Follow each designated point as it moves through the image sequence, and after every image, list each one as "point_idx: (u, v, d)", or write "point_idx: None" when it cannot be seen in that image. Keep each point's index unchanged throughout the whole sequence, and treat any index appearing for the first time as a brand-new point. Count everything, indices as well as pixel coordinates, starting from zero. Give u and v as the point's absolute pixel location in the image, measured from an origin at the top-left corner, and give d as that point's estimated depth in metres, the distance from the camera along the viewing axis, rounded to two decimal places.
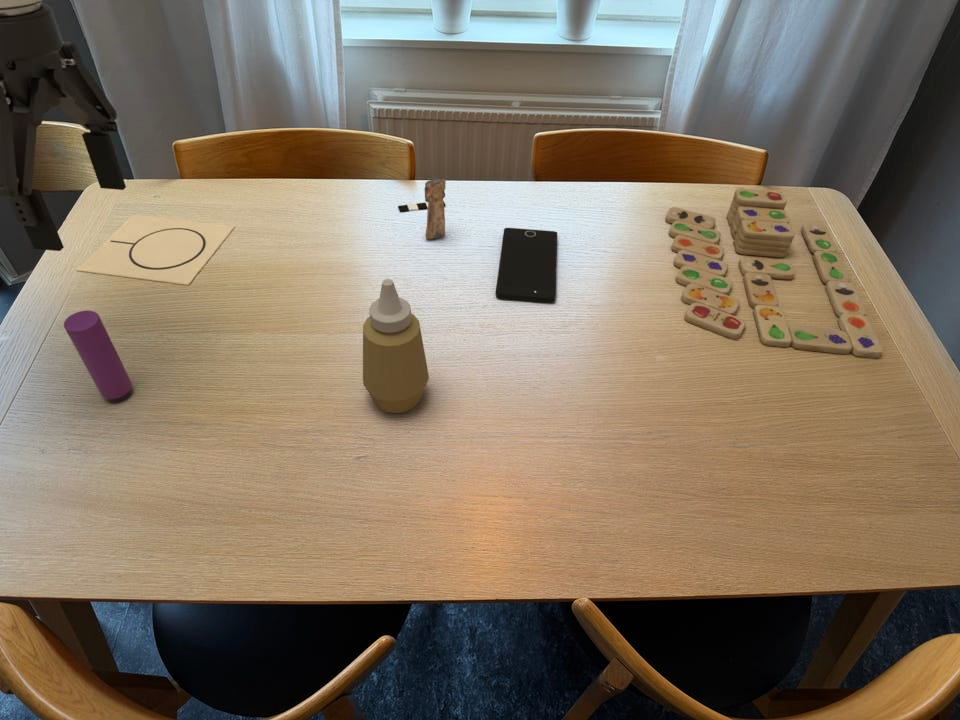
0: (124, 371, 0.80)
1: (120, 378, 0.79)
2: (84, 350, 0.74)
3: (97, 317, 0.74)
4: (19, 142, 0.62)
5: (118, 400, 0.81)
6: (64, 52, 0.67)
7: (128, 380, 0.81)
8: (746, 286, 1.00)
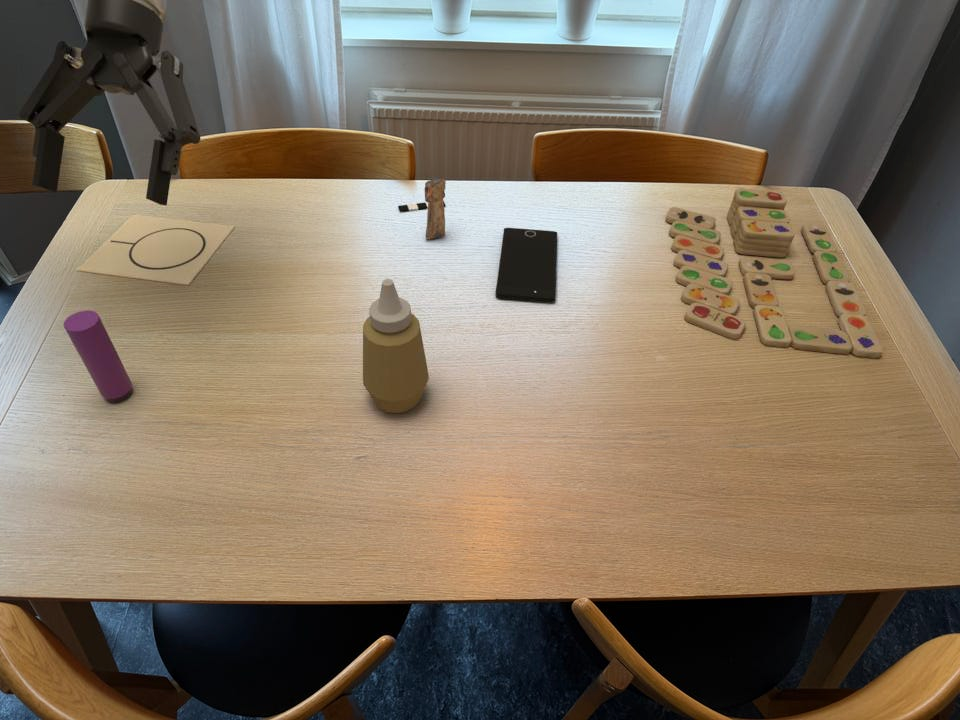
0: (124, 371, 0.80)
1: (120, 378, 0.79)
2: (84, 350, 0.74)
3: (97, 317, 0.74)
4: (161, 107, 0.74)
5: (118, 400, 0.81)
6: None
7: (128, 380, 0.81)
8: (746, 286, 1.00)
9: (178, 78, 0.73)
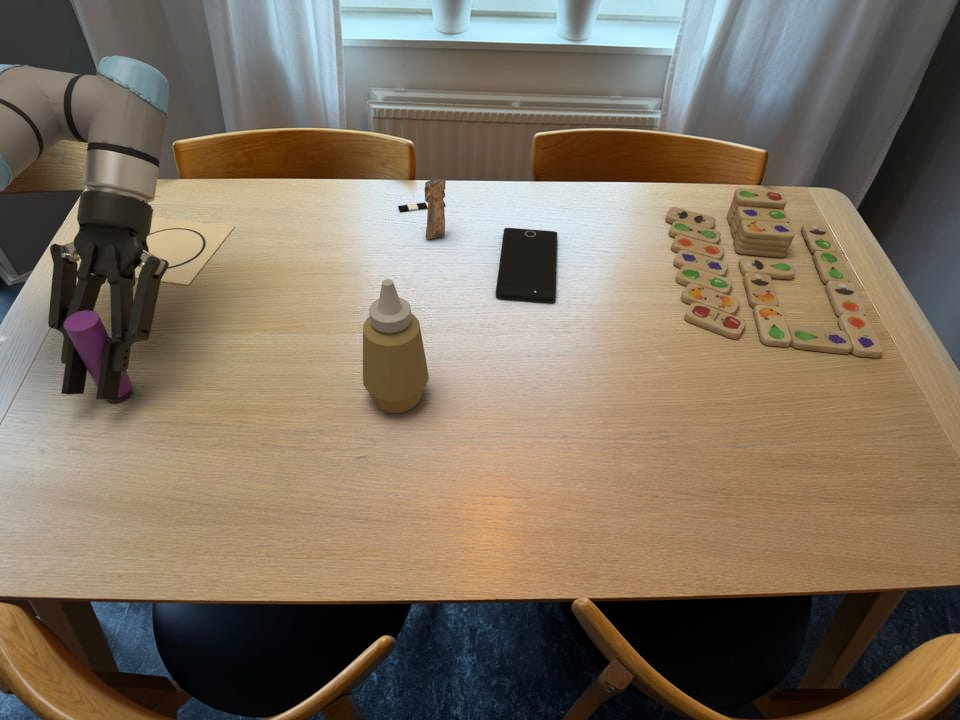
0: None
1: (120, 378, 0.79)
2: (84, 350, 0.74)
3: (97, 317, 0.74)
4: (129, 302, 0.77)
5: (118, 400, 0.81)
6: None
7: (128, 380, 0.81)
8: (746, 286, 1.00)
9: (156, 279, 0.76)
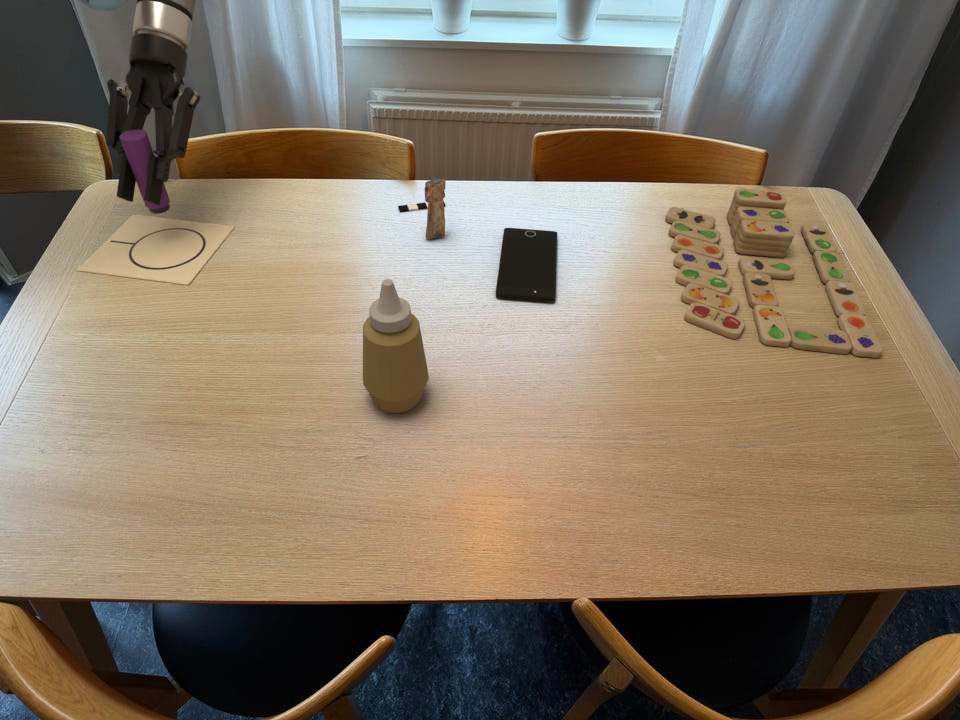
0: (164, 186, 1.00)
1: (162, 191, 0.99)
2: (135, 159, 0.94)
3: (145, 133, 0.94)
4: (169, 127, 0.97)
5: (159, 211, 1.01)
6: None
7: (167, 195, 1.01)
8: (746, 286, 1.00)
9: (190, 108, 0.97)
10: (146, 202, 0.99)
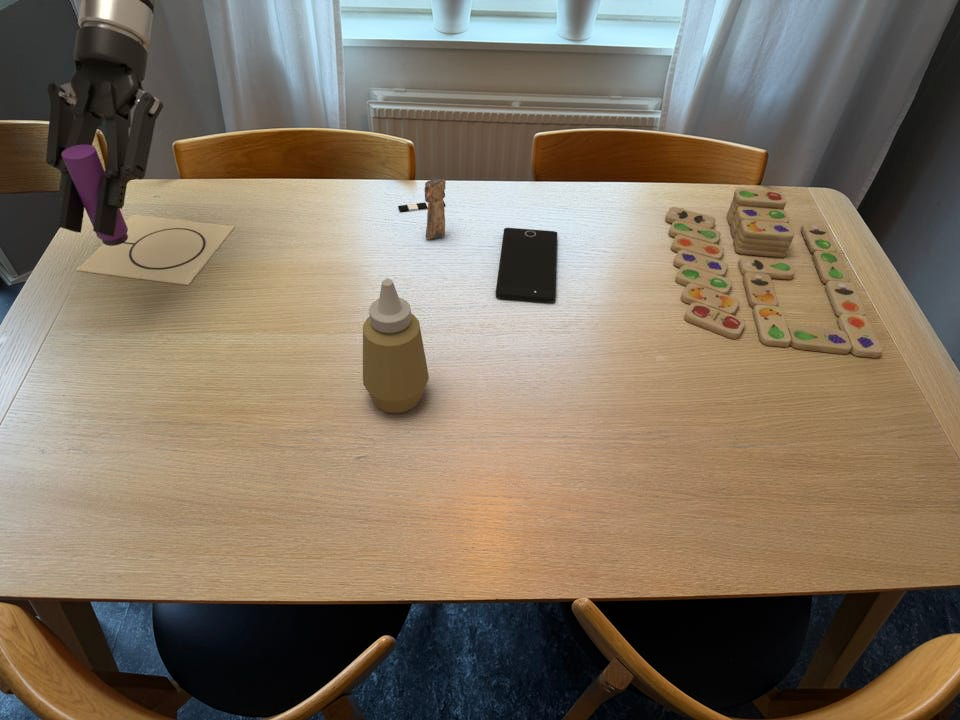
0: (120, 213, 0.82)
1: (117, 219, 0.81)
2: (81, 181, 0.77)
3: (94, 149, 0.76)
4: (125, 141, 0.79)
5: (114, 243, 0.83)
6: None
7: (124, 224, 0.83)
8: (746, 286, 1.00)
9: (150, 118, 0.79)
10: None
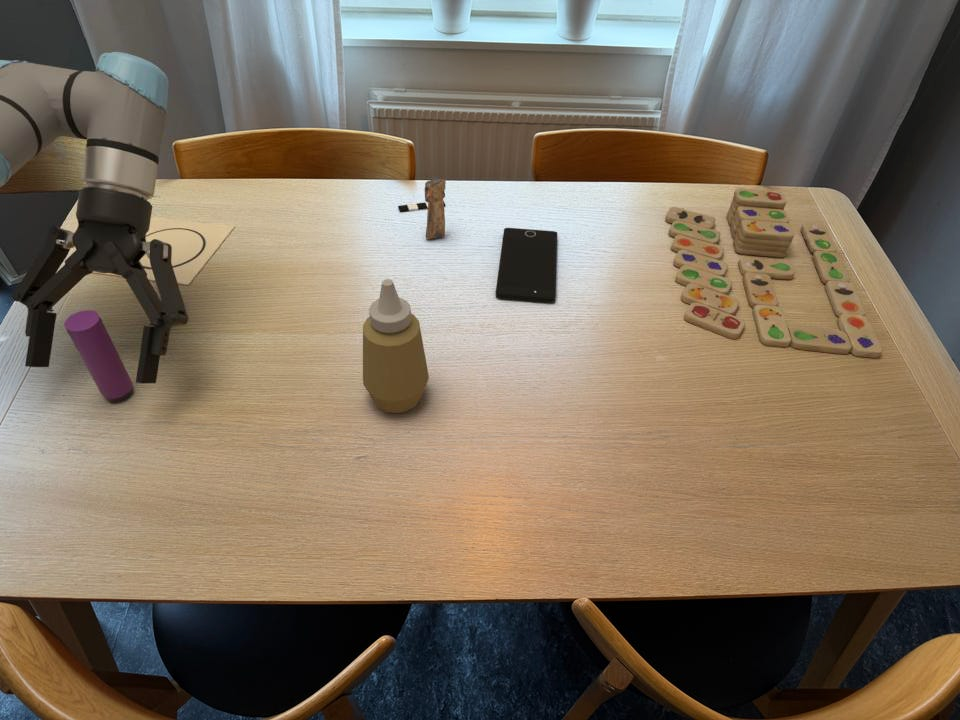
0: (125, 371, 0.80)
1: (121, 378, 0.79)
2: (84, 350, 0.74)
3: (98, 317, 0.74)
4: (151, 289, 0.76)
5: (119, 400, 0.81)
6: None
7: (129, 380, 0.81)
8: (746, 286, 1.00)
9: (167, 262, 0.76)
10: (102, 391, 0.79)
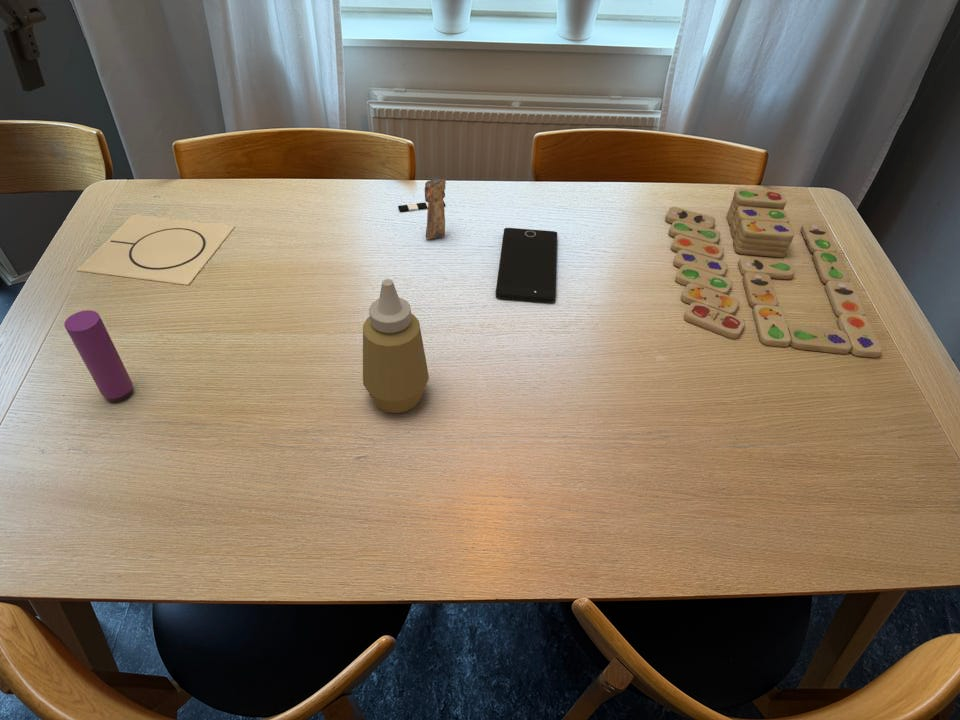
0: (125, 371, 0.80)
1: (121, 378, 0.79)
2: (84, 350, 0.74)
3: (98, 317, 0.74)
4: None
5: (119, 400, 0.81)
6: None
7: (129, 380, 0.81)
8: (746, 286, 1.00)
9: None
10: (102, 391, 0.79)
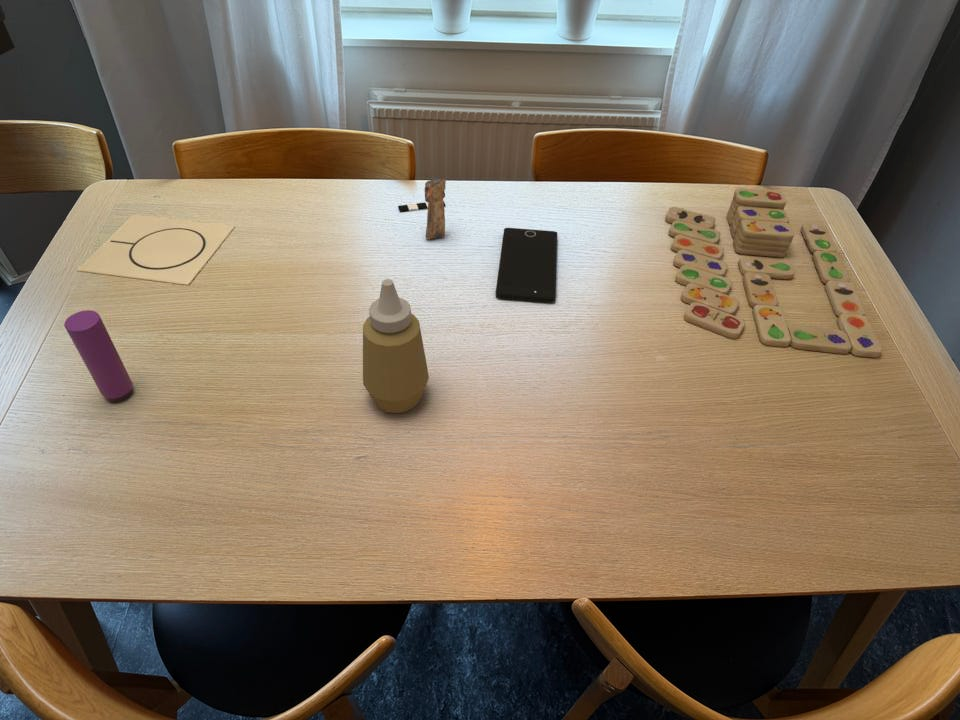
0: (125, 371, 0.80)
1: (121, 378, 0.79)
2: (84, 350, 0.74)
3: (98, 317, 0.74)
4: None
5: (119, 400, 0.81)
6: None
7: (129, 380, 0.81)
8: (745, 286, 1.00)
9: None
10: (102, 391, 0.79)
